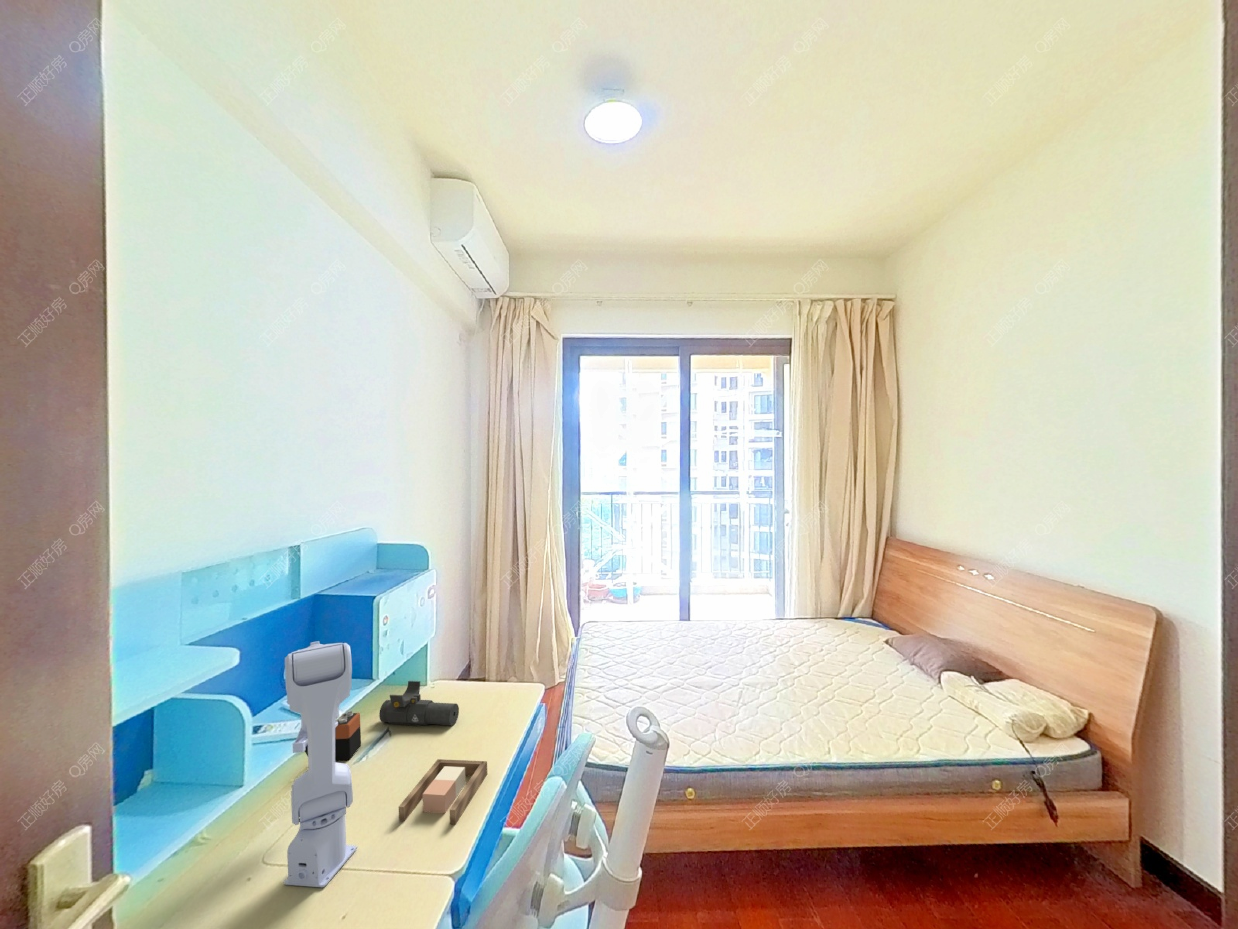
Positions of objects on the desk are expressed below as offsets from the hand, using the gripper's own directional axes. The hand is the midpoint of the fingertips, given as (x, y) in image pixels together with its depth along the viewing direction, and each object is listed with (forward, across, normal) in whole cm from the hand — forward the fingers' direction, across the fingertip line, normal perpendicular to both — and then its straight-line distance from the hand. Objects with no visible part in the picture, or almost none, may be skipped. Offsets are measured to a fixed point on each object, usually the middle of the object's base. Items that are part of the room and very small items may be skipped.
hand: (318, 767), depth 110 cm
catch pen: (+10, +4, -25) cm, 27 cm away
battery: (+11, +24, +6) cm, 27 cm away
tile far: (+11, +6, -26) cm, 28 cm away
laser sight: (+11, +39, -7) cm, 41 cm away
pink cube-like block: (+11, +2, -25) cm, 27 cm away
